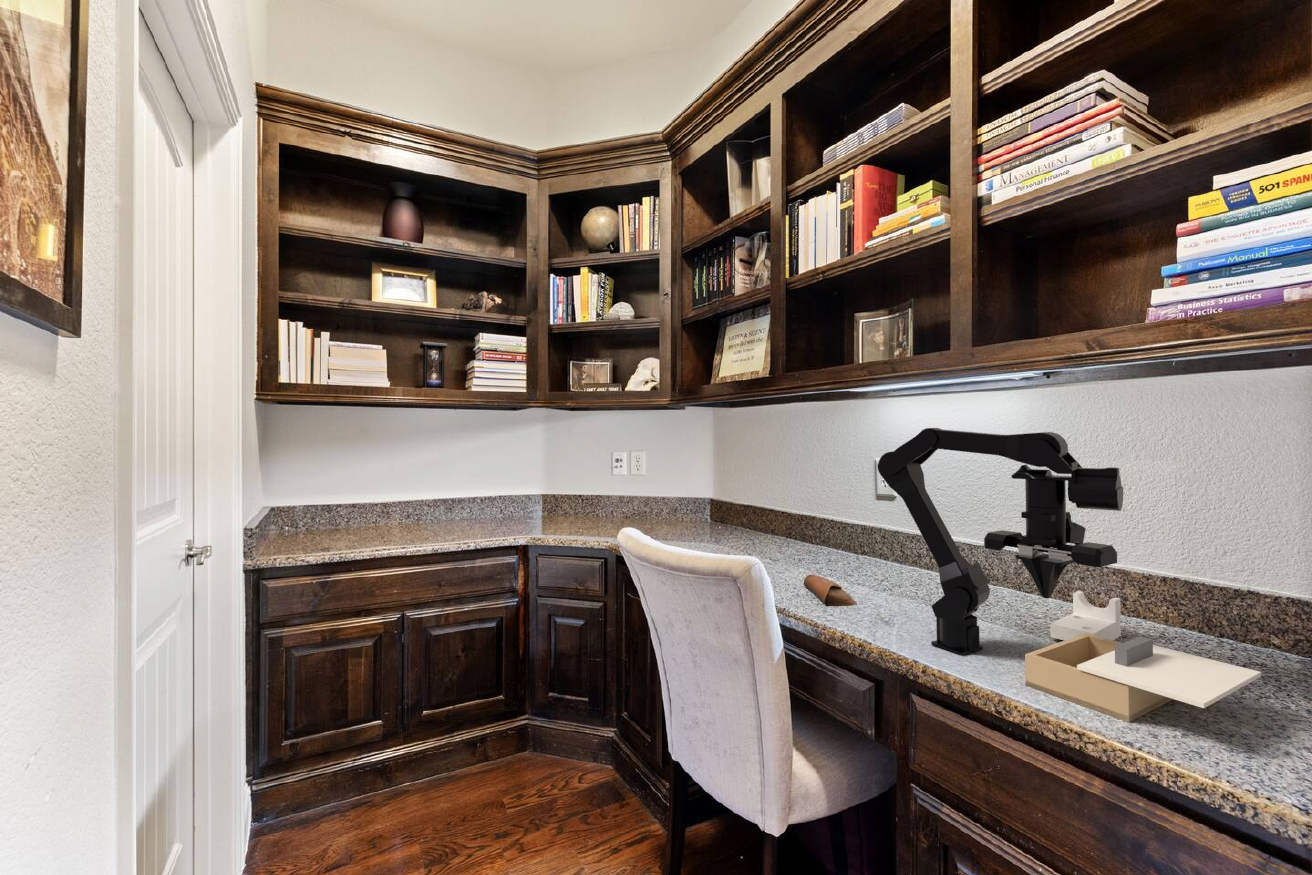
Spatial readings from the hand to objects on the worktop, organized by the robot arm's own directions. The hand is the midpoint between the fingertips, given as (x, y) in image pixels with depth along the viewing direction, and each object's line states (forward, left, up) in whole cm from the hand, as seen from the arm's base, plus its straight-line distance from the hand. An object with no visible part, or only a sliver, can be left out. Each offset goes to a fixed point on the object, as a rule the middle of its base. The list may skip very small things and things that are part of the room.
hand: (1046, 597), depth 102 cm
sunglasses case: (-52, +2, -13) cm, 54 cm away
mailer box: (+9, -1, -12) cm, 15 cm away
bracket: (-4, +21, -12) cm, 25 cm away
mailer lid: (+17, -1, -7) cm, 18 cm away
